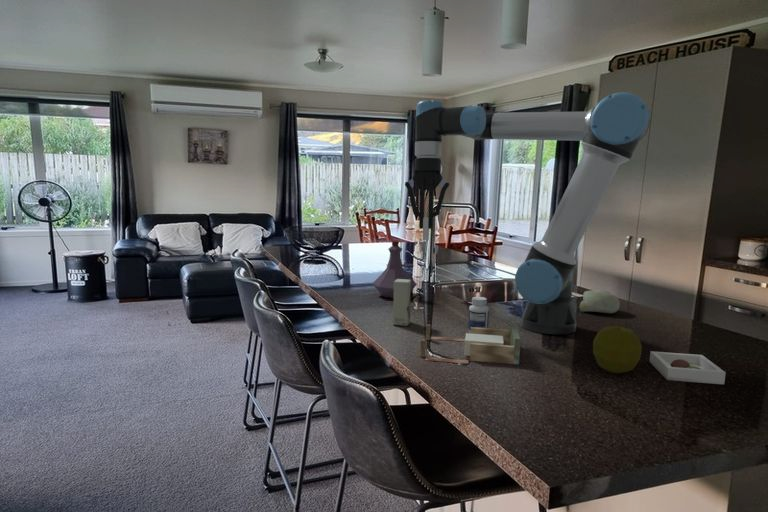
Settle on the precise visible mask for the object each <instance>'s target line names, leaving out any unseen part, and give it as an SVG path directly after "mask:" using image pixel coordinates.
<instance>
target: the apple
mask: <svg viewBox="0 0 768 512" xmlns="http://www.w3.org/2000/svg"><path fill="white" fill-rule="evenodd" d="M642 351H643V345H642V343H641V341H640V338H639V336H638V335H636V333H635V332H634V331H633V330H631V329H630V328H627V327H623V326H620V322H618V323H617V325H616V326H615V325H611V326H604V327H602V329H600V330H599V331H598V332H597V333H596V336H595V337H594V338H593V341H592V354H593V355H594V358H595V360H596V363H597V365H598V366H599V367H600V368H602V369H603V370H605V371H606V372H608V373H612V374H624V373H627V372H630V371H633V370H634V369H635V367H636V366H637V365H638V363H639V361H640V360H641V357H642V356H641V355H642Z"/></svg>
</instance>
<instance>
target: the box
mask: <svg viewBox="0 0 768 512" xmlns="http://www.w3.org/2000/svg"><path fill="white" fill-rule="evenodd" d="M410 288H411V280H407V279H397V280H395V281H394V298H393V321H392V323H393V325H394V326H403V327H407V326H408V325H409V324H410V322H411V292H410Z"/></svg>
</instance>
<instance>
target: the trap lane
mask: <svg viewBox="0 0 768 512" xmlns="http://www.w3.org/2000/svg"><path fill="white" fill-rule="evenodd" d="M509 327H510V328H509V329H506V328H505V329H503V328H489V327H488V328H476V327H471V334H484V335H497V336H503V345H495V344H481V343H470V356H469V360H468V359H467V360H466V359H455V358H444V357H432V356H431V357H430V356H426V341H430V340H435V341H437V340H438V341H439V340H440V341H450V342H452V341H454V342H464V343H465V338H459V337H458V338H456V337H455V338H454V337H443V336H431V324H430V323H429V324H426V326H425V339H420V355H419V356H420V358H424V361H429V362H430V361H431V362H440V363H441V362H442V363H453V364H455V363H456V364H466V365H467V364H468V365H469V361H470V362H480V363H481V362H483V363H494V364H508V365H519V364H520V353H521V352H520V351H521V337H520V334H519V330H518V327H517V323H516V322H513V321H511V322H510V325H509Z"/></svg>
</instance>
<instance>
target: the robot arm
mask: <svg viewBox="0 0 768 512" xmlns="http://www.w3.org/2000/svg"><path fill="white" fill-rule="evenodd" d="M414 119H415V135H414V136H415V139H414V156H415V157H416V158H415V159H414V168H413V169H414V170H413V171H414V172H413V175H412V178H411V179H410V180H408V181H405V182H404V186H405V187H406V189H407V190H408V196H409V200H410V205H411V208H412V210H411V211H412V214H413V215H414V216H417V217H418V218H419V219H418V220H419V223H418V224H419V225H418V226H419V229H422V241H425V242H426V241H429V239H430V235H429V234H430V233H429V232H430V229H431V230H433V228H434V218H435V217H438V216H439V215H440V213H441V209H442V205H443V202H444V199H445V194H446V191H447V190H448V188H449V187H450V183H449V182H447V181H446V180H444V179H443V176H442V173H441V171H442V159H441V158H440V157H441V156H442V147H443V146H442V141H443V139H442V137H443V136H444V137H446V136H462V137H464V138H465V137H466V138H471V139H472V140H475V141H485V140H511V141H512V140H513V141H514V140H518V141H520V140H522V141H570V142H571V141H574V142H575V141H576V142H577V141H578V142H580V141H581V146H582V148H583V154H582V156H581V158H580V160H579V162H578V164H577V166H576V167H575V171H574V172H573V174H572V177H571V178H570V181H569V182H568V185H567V187H566V188H565V191H564V193H563V195H562V197H561V199H560V201H559V203H558V206H557V207H556V210H555V211H554V214H553V215H552V218H551V220H550V222H549V224H548V226H547V228H546V230H545V232H544V234H543V237H542V239H541V240H539V241H536V242H534V243H533V244H532V245H531V247H530V248H529V252H528V254H527V256H526V258H525V259H524V262H522V264H520V265H519V267H518V268H517V270H516V272H515V275H514V284H515V285H514V286H515V288H516V290H517V292H518V294H519V295H520V296H521V297H522V298H523V299H524V300H526V301H527V302H526V305H525V308H524V310H523V313H522V315H521V320H520V325H521V327H522V328H524V329H526V330H529V331H530V332H531V331H532V332H534V333H540V334H546V335H568V334H572V333H575V332H576V331H577V319H576V316H575V313H574V308H573V304H572V298H573V297H572V296H573V285H574V283H573V282H574V271H575V270H574V269H575V266H576V264H577V260H576V258H575V252H576V251H577V250H578V248H579V247H578V246H579V245H580V243H581V241H582V239H583V236H584V235H585V234H586V231H587V229H588V227H589V225H590V223H591V221H592V219H593V218H594V216H595V213H596V212H597V209H598V208H599V205H600V204H601V203H602V200H603V198H604V196H605V194H606V192H607V190H608V189H609V186H610V184H611V182H612V180H613V179H614V176H615V175H616V173H617V170H618V169H619V166H621V165H622V164H624V163H626V162H629V161H631V159H632V156H633V154H634V152H635V150H636V148H637V146H638V145H639V143H640V142H641V141H642V140H643V139H644V137H645V136H646V135H647V133H648V130H649V129H650V121H651V119H650V110H649V107H648V105H647V104H646V102H645V100H644V99H642V98H641V97H640V96H637V95H635V94H634V93H631V92H625V91H624V92H623V91H621V92H620V91H619V92H615V93H612V94H609V95H607V96H605V97H604V98H602V99H601V100H600V101H599V102H598V103H597V104H596V105H595V107H592V108H591V109H589V110H588V111H531V112H530V111H527V112H526V111H523V112H520V111H519V112H515V111H514V112H513V111H512V112H486V111H485V109H484V107H483V106H481V105H467V106H455V107H444V105H443V101H440V100H436V99H434V100H433V99H431V100H430V99H426V100H425V99H424V100H421V101H418V102H417V104H416V110H415V118H414ZM414 184H415V185H416V187H417V188H418V190H419V209H418V205H417V204H418V203H417V201H416V196H415V191H414V186H415V185H414ZM439 185H440V188H441V190H440V192H439V196H438V199H437V203H436V207H435V210H434V203H435V201H434V200H435V190H436V189H437V188H438V186H439ZM426 191H428V210H427V211H428V213H427V214H428V215H427V217H426V216H425V211H426V210H425V207H426V200H425V199H426Z"/></svg>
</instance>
